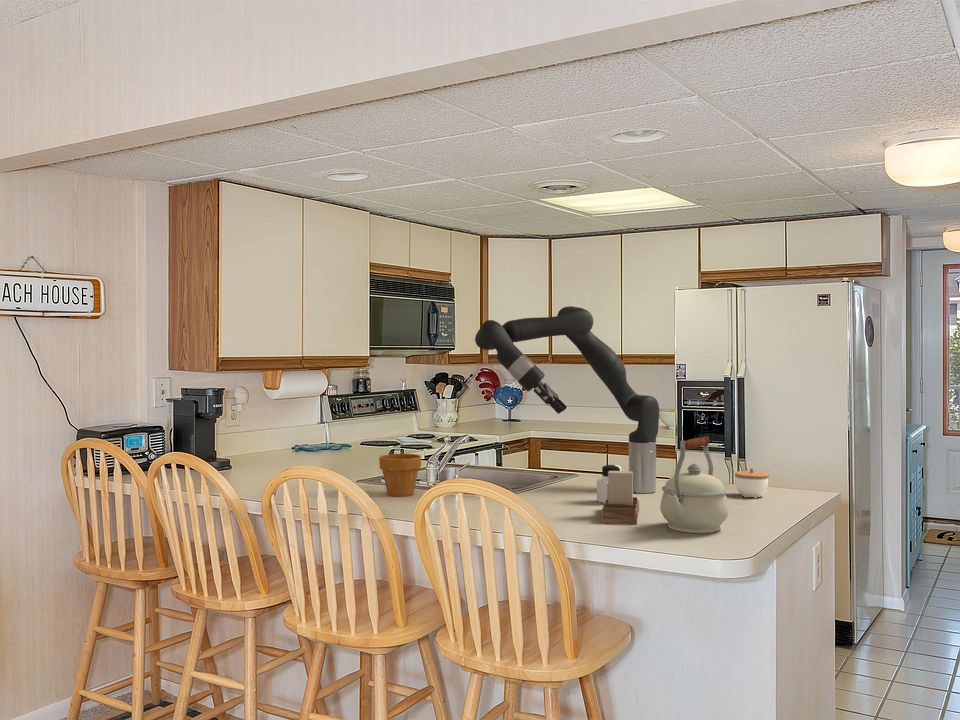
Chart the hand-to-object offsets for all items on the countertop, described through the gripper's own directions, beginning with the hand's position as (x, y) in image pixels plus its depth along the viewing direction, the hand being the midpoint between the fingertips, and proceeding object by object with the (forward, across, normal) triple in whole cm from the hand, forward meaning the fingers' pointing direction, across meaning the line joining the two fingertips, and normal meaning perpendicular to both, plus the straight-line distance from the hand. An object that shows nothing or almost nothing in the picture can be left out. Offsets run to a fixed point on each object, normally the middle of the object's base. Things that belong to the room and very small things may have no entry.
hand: (563, 410), depth 261 cm
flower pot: (-19, +17, +62) cm, 67 cm away
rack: (+34, -5, +9) cm, 36 cm away
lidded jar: (+63, +38, -20) cm, 76 cm away
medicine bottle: (+32, +17, +12) cm, 38 cm away
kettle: (+48, -18, -5) cm, 52 cm away
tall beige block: (+33, -5, +8) cm, 35 cm away
